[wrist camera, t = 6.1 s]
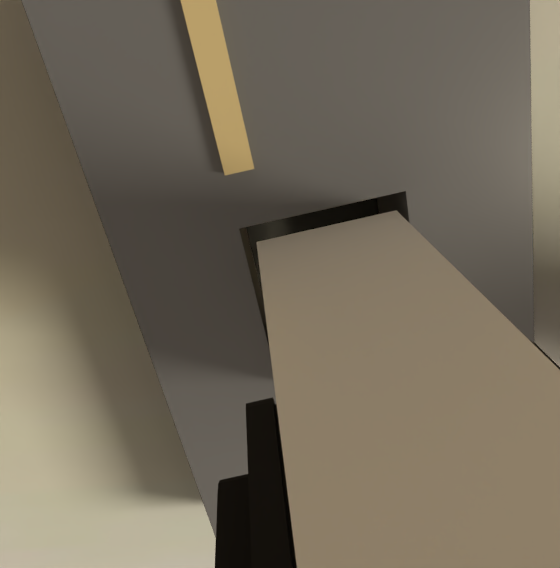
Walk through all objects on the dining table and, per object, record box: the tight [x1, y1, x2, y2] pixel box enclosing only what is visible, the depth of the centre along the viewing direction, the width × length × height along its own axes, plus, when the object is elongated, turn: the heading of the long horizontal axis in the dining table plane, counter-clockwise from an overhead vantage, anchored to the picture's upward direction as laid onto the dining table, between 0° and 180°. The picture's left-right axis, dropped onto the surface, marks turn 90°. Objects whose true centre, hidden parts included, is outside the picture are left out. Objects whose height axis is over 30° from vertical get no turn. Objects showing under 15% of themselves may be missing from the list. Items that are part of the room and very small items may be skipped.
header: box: [22, 0, 534, 537], centre depth 18 cm, size 22×12×4 cm, turn 12°
